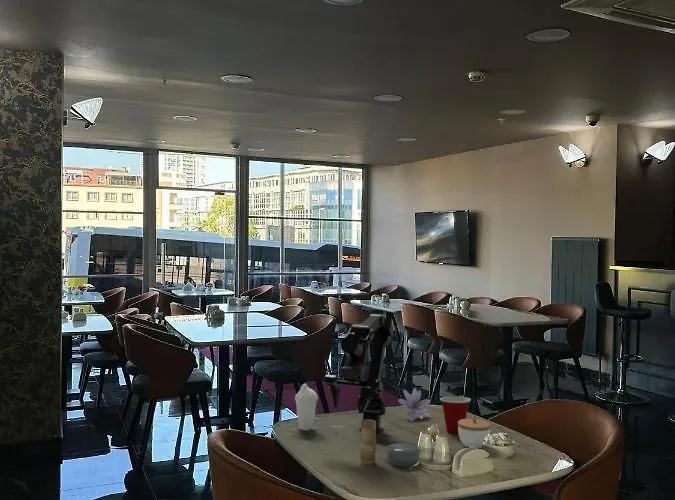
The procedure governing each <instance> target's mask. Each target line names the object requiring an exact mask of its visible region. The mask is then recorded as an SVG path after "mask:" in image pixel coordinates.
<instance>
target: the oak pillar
mask: <svg viewBox="0 0 675 500" xmlns="http://www.w3.org/2000/svg"><path fill="white" fill-rule="evenodd" d="M360 428H361V430H360V452H359V453H360V457H359V459H360V461H359V463H360V464H361V465H366V466H372V465H374V464H375V463H376V443H377V441H376V438H377V436H376V421H375V420H371V419H365V420H363V419H362V420H361V422H360Z"/></svg>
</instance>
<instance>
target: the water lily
mask: <svg viewBox="0 0 675 500" xmlns="http://www.w3.org/2000/svg"><path fill="white" fill-rule="evenodd" d="M402 391H403V395H404V397H405V399H404V398H399V399H397V401H398V402H399V404H400V405H402V406H403V407H404V408H406V409H407V410H409V411H408V412H407V413H406V414H407V415H408V417H409V420H410V422H413V421H415V419H416V416H417V417H419V419H423V416H424V417H426V418H429V417H430V418H432V415H431V413H429V412H428V411H427V409H426V408H424V407H425V406H427V405H429V404H430V403H431V400H430V399H423V400H421V396H422V391H421V390H417V388H416V387H414V388H413V390H412V392H411V393H409V391H407V390H406V389H404V388H403V389H402Z"/></svg>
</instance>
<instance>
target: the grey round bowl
mask: <svg viewBox="0 0 675 500" xmlns="http://www.w3.org/2000/svg"><path fill="white" fill-rule="evenodd" d="M418 448H419V447H418V446H417V445H415V444H410V443H401V442H400V443H391V444H389V445H387V447H386V463H387V464H388V465H391V466H394V467H397V468H412V467H411V466H413V465H415V464H416V463H417V462H418V461H419V457H420V453H421V452H420V451H421V449H420V448H419V449H418ZM420 458H421V457H420Z"/></svg>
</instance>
